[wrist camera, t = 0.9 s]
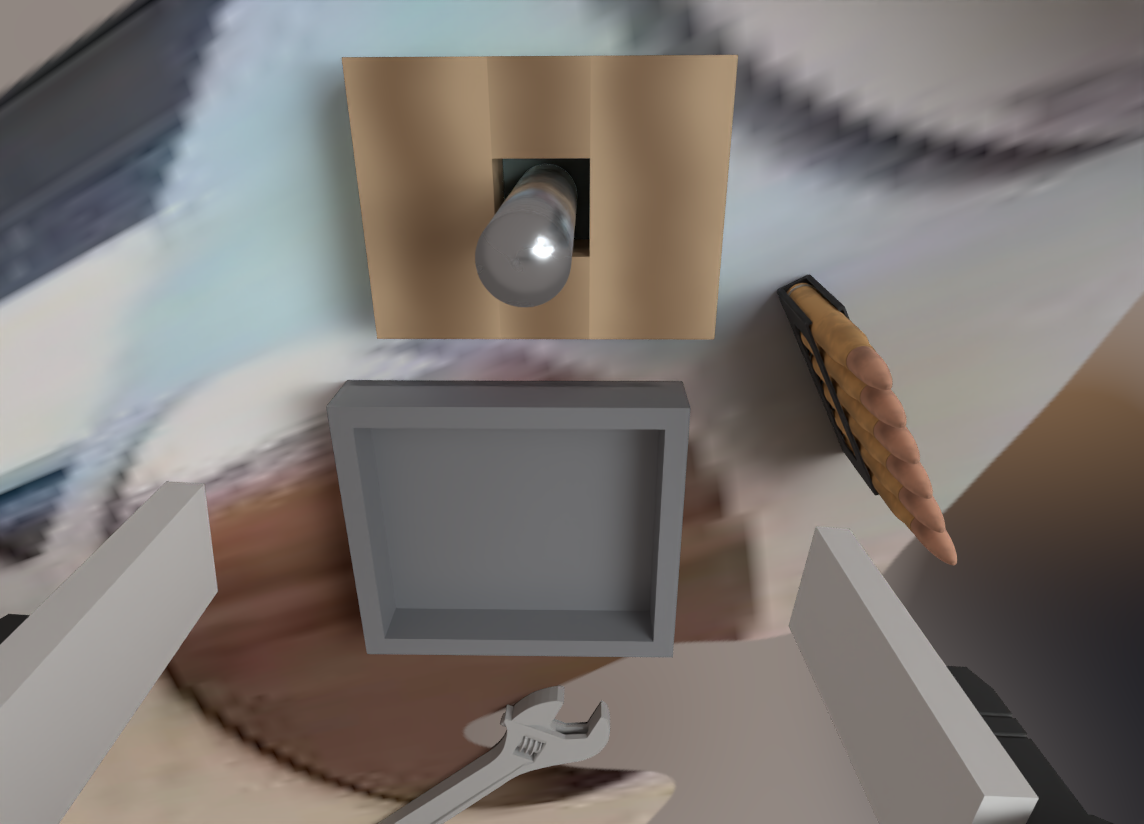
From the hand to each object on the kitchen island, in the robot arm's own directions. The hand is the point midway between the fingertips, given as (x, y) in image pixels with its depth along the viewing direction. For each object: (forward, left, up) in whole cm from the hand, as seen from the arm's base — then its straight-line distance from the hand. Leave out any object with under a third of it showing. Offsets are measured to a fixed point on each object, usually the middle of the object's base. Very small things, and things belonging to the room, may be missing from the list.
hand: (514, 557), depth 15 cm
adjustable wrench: (+7, +37, -24) cm, 44 cm away
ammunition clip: (-15, +5, -24) cm, 28 cm away
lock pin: (0, -4, -23) cm, 24 cm away
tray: (+2, +14, -23) cm, 27 cm away
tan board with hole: (0, -4, -23) cm, 24 cm away
